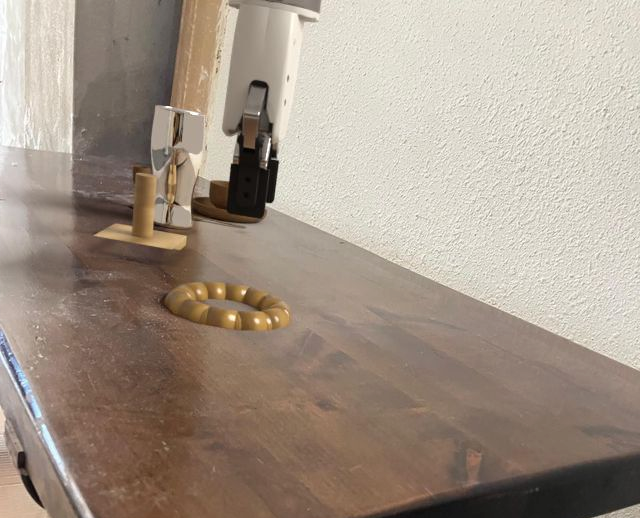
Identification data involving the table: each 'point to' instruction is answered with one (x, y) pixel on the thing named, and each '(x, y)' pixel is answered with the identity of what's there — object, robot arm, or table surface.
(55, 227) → the table surface
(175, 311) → the ring
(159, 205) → the beer glass
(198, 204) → the place setting
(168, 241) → the post
